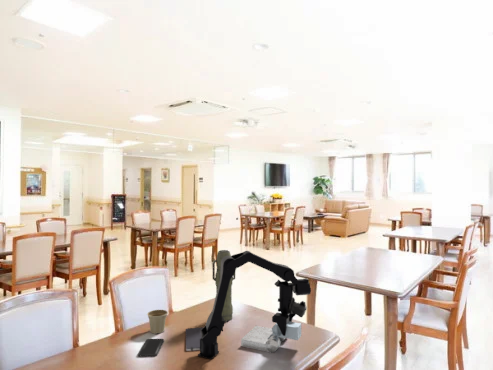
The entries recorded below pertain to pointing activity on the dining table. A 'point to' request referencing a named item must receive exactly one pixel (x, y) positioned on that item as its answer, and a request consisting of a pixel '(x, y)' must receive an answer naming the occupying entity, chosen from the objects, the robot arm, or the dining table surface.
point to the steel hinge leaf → (261, 339)
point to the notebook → (193, 338)
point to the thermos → (228, 301)
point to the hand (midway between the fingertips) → (286, 332)
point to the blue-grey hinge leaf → (288, 331)
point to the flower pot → (157, 320)
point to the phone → (151, 348)
